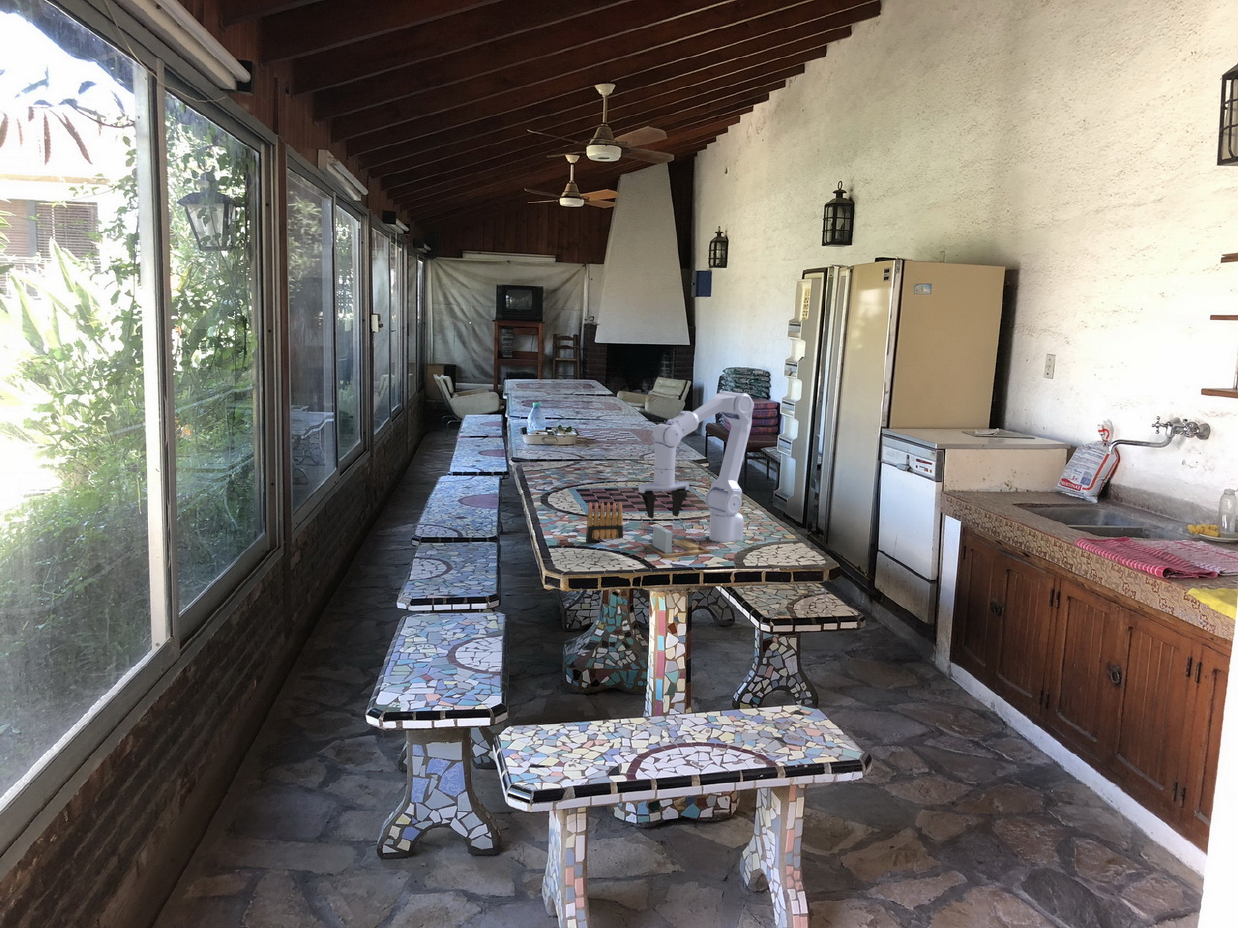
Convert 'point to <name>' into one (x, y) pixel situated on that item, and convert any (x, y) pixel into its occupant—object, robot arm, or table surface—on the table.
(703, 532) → the table surface
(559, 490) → the table surface
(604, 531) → the ammunition clip
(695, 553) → the rack
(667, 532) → the block
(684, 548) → the offcut birch
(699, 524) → the table surface
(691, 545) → the offcut oak
